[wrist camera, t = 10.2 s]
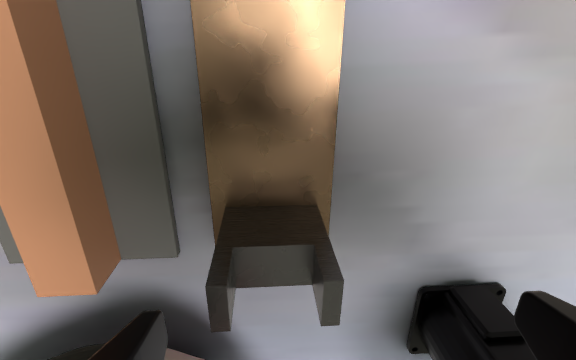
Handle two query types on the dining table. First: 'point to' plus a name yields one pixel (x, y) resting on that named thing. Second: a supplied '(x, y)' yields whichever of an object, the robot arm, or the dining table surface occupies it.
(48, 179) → the rail
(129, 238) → the mat
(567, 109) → the dining table surface
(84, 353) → the packaged food
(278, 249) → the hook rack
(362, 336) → the dining table surface
